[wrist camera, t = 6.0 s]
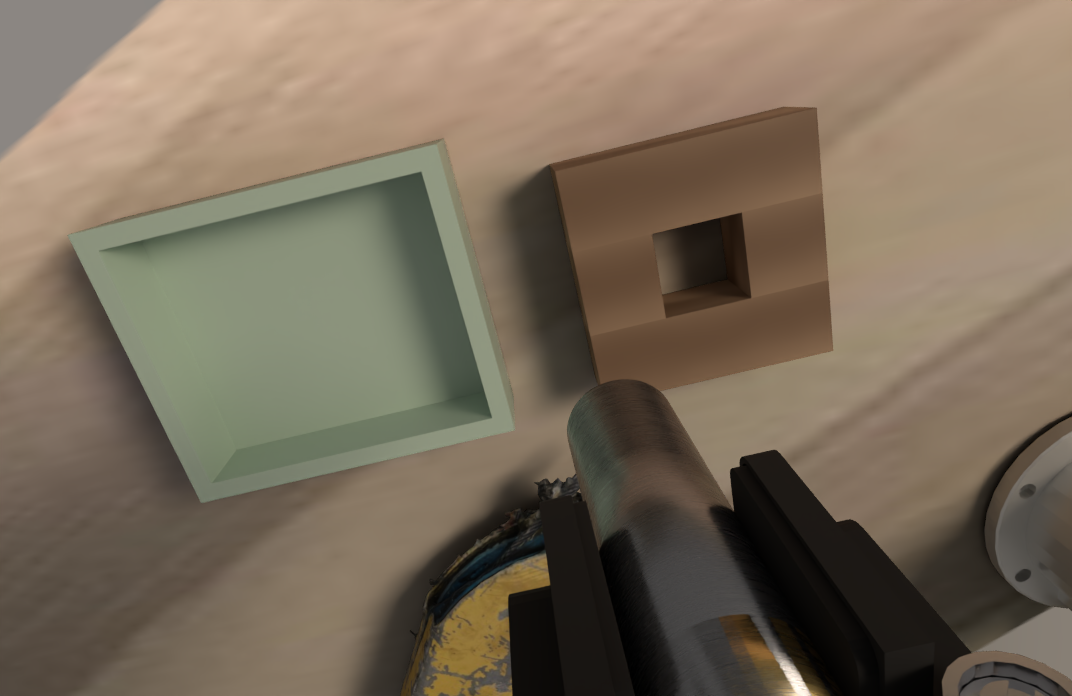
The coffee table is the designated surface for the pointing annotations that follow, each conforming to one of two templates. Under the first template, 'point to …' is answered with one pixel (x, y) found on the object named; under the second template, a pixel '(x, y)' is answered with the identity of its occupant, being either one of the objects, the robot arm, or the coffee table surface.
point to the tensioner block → (748, 239)
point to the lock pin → (682, 559)
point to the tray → (307, 321)
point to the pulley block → (481, 607)
